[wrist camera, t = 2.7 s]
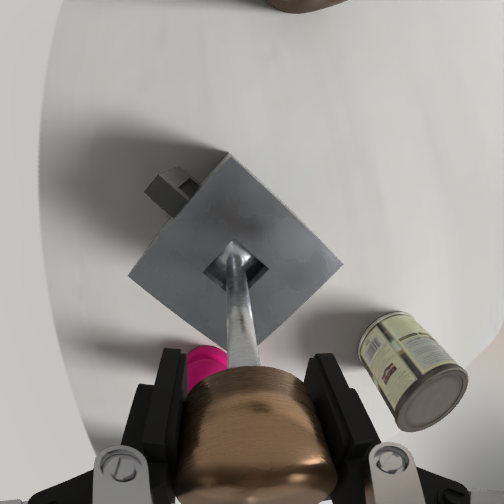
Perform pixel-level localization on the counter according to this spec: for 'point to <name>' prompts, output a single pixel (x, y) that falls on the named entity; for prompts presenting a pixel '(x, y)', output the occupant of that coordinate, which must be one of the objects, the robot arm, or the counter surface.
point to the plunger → (250, 418)
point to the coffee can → (411, 371)
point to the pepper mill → (204, 364)
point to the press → (214, 242)
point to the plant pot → (302, 5)
